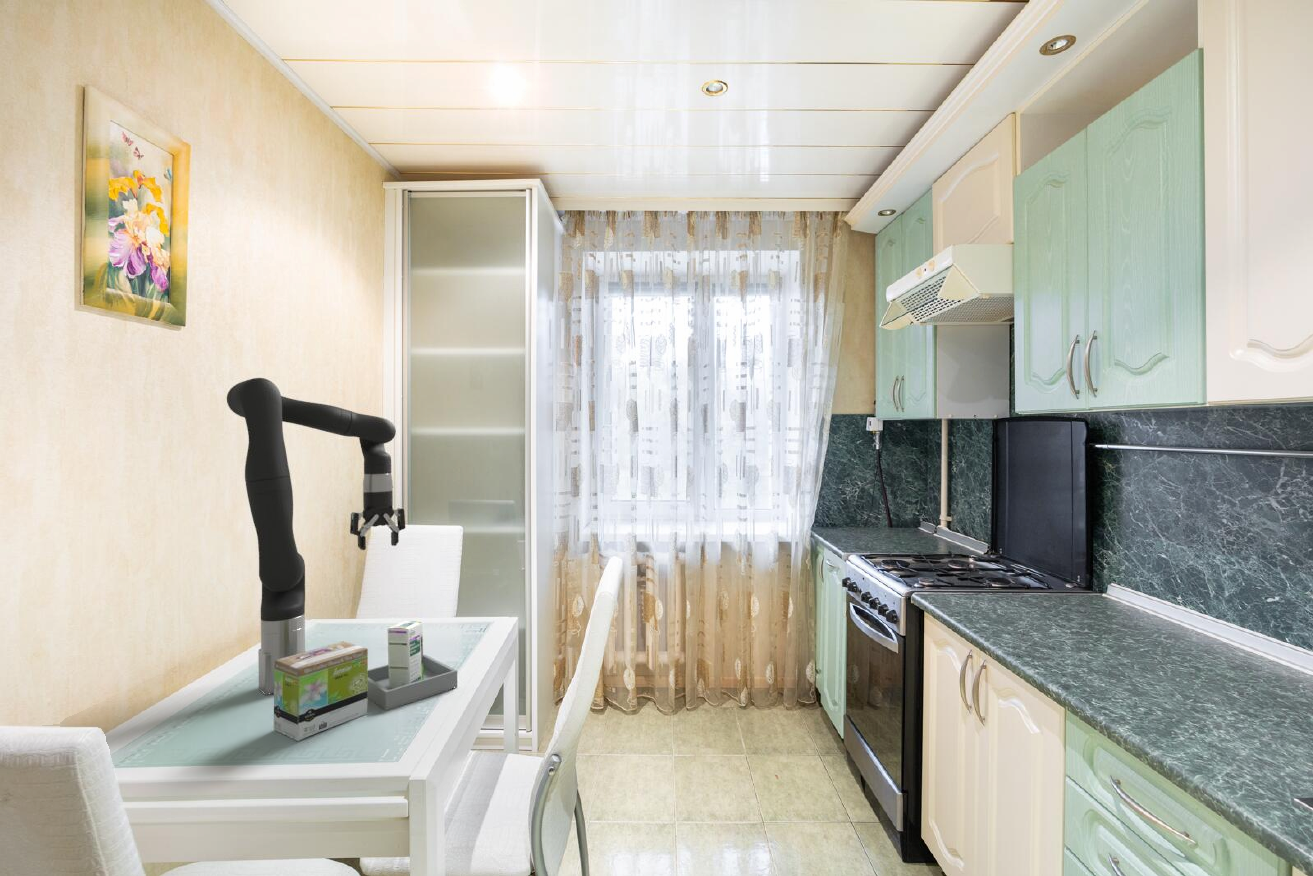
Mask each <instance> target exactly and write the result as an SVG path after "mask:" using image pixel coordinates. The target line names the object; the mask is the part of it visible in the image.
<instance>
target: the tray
mask: <svg viewBox="0 0 1313 876" xmlns="http://www.w3.org/2000/svg"><path fill="white" fill-rule="evenodd" d="M423 670H424V680H421V681H417V682H414V683H411V684H407V685H404V686H401V687H397V688H389V664H384V665H382V666H378V667H373V668H370V669H369V668H368V695H367V699H368V700H369V699H370V700H371V701H373V702H374V703H375V704H376V705H378V706H379V707H380V708H382V709H384V710H385V711H388V710H391V709H395V708H397V707H398V708H399V707H401V706H403V705H404V706H405V705H407V704H410V703H413V702H417V701H420V700H422V699H427V698H428V697H433V696H435V695H438V694H441V693H445V692H447V691H450V690H449V689H451V690H453V689H452V688H454V687H457V688H458V670H456V669H454V668H452V667H450V666H449V665H447V664H445V663H443V662H440V661H439V660H436V659H434V658H432V657H431V656H429V655H427V654H423ZM454 689H455V688H454ZM444 691H445V692H444Z"/></svg>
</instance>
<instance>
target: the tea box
mask: <svg viewBox="0 0 1313 876" xmlns="http://www.w3.org/2000/svg"><path fill="white" fill-rule="evenodd" d="M368 657H369V650H368V648H367V647H363V646H360V645H357V644H354V643H351V642H347V641H343V640H342V641H338V642H336V643H332V644H328V645H325V646H321V647H318V648H314V649H311V650H307V651H306V650H305V652H303V653H299V654H296V655H292V656H288V657H285V658H281V659H277V660H275V672H274V693H273V730H274V731H276V732H278V733H279V732H281V733H284V734H285V735H287V736H286V737H288V736H289V737H288V738H290V737H292V738H294V739H295V740H294V739H293V740H294V741H296V740H297V742H300V741H302V740H304V739H305V738H308V737H310V736H312V735H313V736H314V735H315V734H318V733H320V732H322V731H325V730H327V729H331V728H333V727H336V726H338V725H341V724H344V723H347V722H349V721H352V720H354V719H358V718H360V717H362V716H366V715H367V713H368V697H367V695H368V670H369V668H368V665H369V664H368V663H369V662H368V661H369V659H368ZM281 733H280V734H281ZM285 735H284V736H285ZM292 738H291V739H292Z"/></svg>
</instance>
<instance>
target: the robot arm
mask: <svg viewBox="0 0 1313 876" xmlns="http://www.w3.org/2000/svg"><path fill="white" fill-rule="evenodd" d="M226 403H227V406H228V408H229V410H231V411H232V412H233V413H234V414H235V415H237V416H238V417H241V418H244V419H245V424H246V429H247V435H248V444H247V445H248V447H247V453H246V459H245V466H244V481H245V488H246V489H245V490H246V493H247V499H248V505H249V508H250V513H251V518H252V521H253V524H254V525H253V526H254V528H255V532H256V536H257V538H256V539H257V544H258V545H257V546H258V548H257V549H258V576H259V580H260V582H261V602H260V603H261V604H260V648H259V649H258V689H259V688H260V689H261V690H262V691H263V692H264V693H265V694H268V695H270V694H269V693H273V694H274V672H275V660H277V659H281V658H285V657H288V656H292V655H296V654H299V653H303V652H306V614H305V613H306V612H305V611H306V607H305V605H306V565H305V559H304V558H303V555H301V554H300V553H299V551H298V548H297V544H296V540H295V534H294V523H293V522H294V495H293V493H294V492H293V484H292V478H291V473H290V472H291V471H290V468H289V462H288V455H287V450H286V445H285V439H284V432H283V431H284V430H283V429H284V428H283V423H288V424H294V425H298V426H303V427H305V428H309V429H310V428H311V429H315V430H319V431H321V432H322V431H323V432H325V433H329V434H330V433H331V434H335V435H339V436H343V437H348V438H349V437H350V438H351V437H353V438H358V439H359V444H360V449H361V453H362V456H363V481H362V486H363V487H362V492H363V494H362V497H363V498H362V503H363V506H362V507H363V511H362V512H356V511H355V512H351V514H350V525H349V526H350V529H349V534H351V535H353V536H356V537H357V547H358V549H360V551H366V549H367V547H366V546H367V545H366V543H367V542H366V537H367V536H365V535H366V534H367V532H368V531H369V530H370V529H371V528H372V527H374V528H376V527H380V526H381V527H383V526H384V527H385V526H387V527H388V529H390V530H391V532H390V545H391V546H393V547H395V546H398V543H399V541H400V540H399V538H400V535H399V534H400V531H402V530H405V529H406V517H405V514H406V513H405V509H404V508H400V507H398V508H396V509H394V508H393V504H394V499H393V496H394V495H393V489H394V485H393V476H392V475H393V474H392V457H391V455H390V454H389V453H388V452H386V449H385V444H387V443H389V442H391V441H393V440H394V438H395V436H396V433H397V431H396V426H395V425H394V424H393V422H392V421H390V420H389V419H388V418H384V417H380V416H374V415H370V414H364V413H363V414H362V413H358V412H356V411H352V410H349V409H345V408H341V407H338V406H335V405H330V404H324V403H317V402H311V401H303V400H298V399H295V398H289V397H286V396H283V395H281V392H280V389H279V388H278V386H277V385H276V384H275V383H274V382H273V381H271V380H269V379H267V378H263V377H254V378H251V379H247V380H244V381H243V380H242V381H241V382H238V383H236V384H235V385H233V386H232V387H231V388H230V389H229V391H228V392H227V395H226ZM394 516H395V517H396V521H397V525H396V523H395V522H394V521H393V519H392V518H393V517H394ZM361 518H363V519H364V521H363V523H362V524H361V527H360V528H359V523H360V522H359V521H360V520H361ZM260 689H259V690H260ZM261 690H260V691H261ZM262 691H261V692H262ZM263 692H262V693H263ZM264 693H263V694H264ZM265 694H264V695H265Z"/></svg>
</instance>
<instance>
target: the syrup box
mask: <svg viewBox="0 0 1313 876" xmlns="http://www.w3.org/2000/svg"><path fill="white" fill-rule="evenodd" d="M423 637H424V636H423V622H421V621H413V620H408V621H407V620H406V621H405V620H404V621H401V622H399V623H396V624H395V625H393V626H390V627H387V657H388V660H387V661H388V664H389V688H397V687H401V686H404V685H407V684H411V683H414V682H417V681H421V680H424V670H423V655H424V639H423ZM388 664H387V665H388Z"/></svg>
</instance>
